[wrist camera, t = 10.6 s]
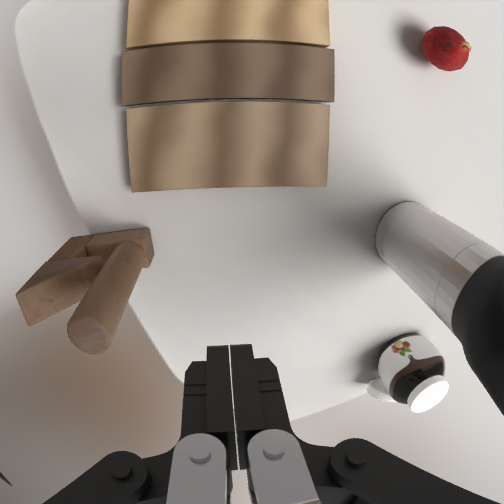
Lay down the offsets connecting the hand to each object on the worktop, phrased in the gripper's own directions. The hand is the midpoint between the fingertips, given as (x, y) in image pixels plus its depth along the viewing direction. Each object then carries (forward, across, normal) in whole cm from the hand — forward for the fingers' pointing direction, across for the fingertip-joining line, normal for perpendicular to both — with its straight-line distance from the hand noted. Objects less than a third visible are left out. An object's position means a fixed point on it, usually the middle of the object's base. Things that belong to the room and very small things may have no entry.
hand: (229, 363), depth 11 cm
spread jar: (+27, -28, +29) cm, 49 cm away
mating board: (+27, -1, -13) cm, 30 cm away
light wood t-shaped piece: (+27, +14, +6) cm, 31 cm away
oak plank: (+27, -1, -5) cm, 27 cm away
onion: (+27, -26, -19) cm, 42 cm away
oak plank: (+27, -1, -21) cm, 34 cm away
